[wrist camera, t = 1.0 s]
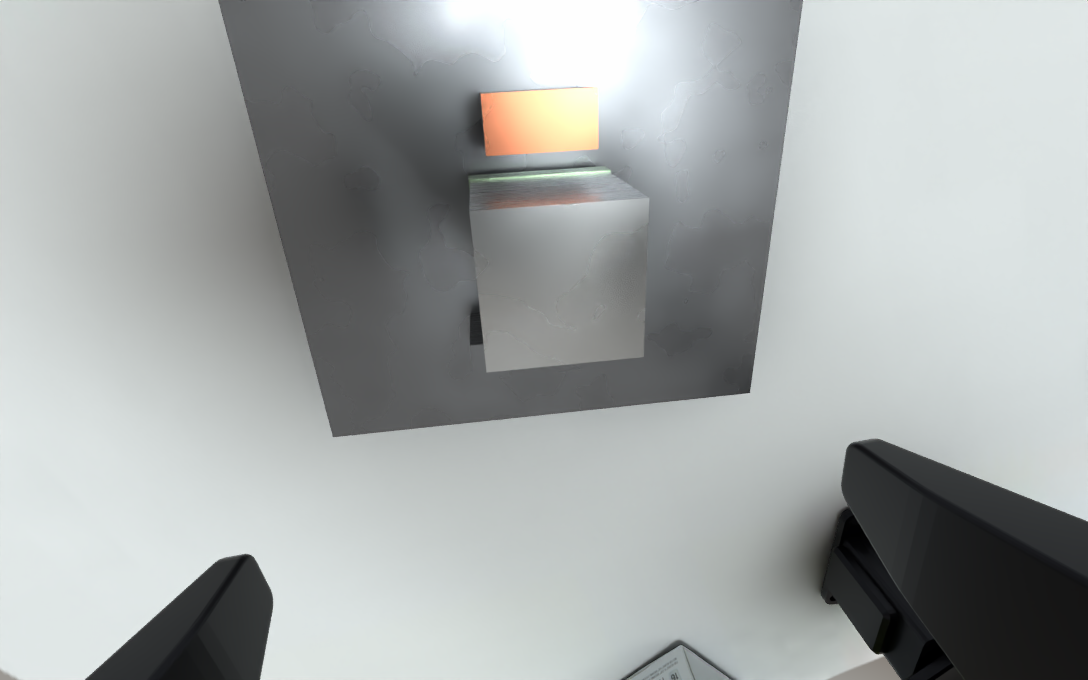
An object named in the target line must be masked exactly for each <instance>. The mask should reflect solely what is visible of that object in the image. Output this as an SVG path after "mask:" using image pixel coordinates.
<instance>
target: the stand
mask: <svg viewBox="0 0 1088 680" xmlns="http://www.w3.org/2000/svg"><path fill="white" fill-rule="evenodd" d="M802 3H803V0H219V4H220V8H221V12H222V16H223V20H224V23H225V27H226V31H227V35H228V39H229V42H230V46H231V50H232V54H233V58H234V61H235V65H236V69H237V73H238V77H239V80H240V84H241V88H242V92H243V96H244V99H245V103H246V107H247V111H248V115H249V119H250V122H251V126H252V130H253V134H254V138H255V141H256V145H257V149H258V153H259V157H260V160H261V164H262V168H263V172H264V176H265V179H266V183H267V187H268V191H269V195H270V198H271V202H272V206H273V210H274V214H275V218H276V221H277V225H278V229H279V233H280V237H281V240H282V244H283V248H284V252H285V256H286V259H287V263H288V267H289V271H290V275H291V278H292V282H293V286H294V290H295V294H296V297H297V301H298V305H299V309H300V313H301V317H302V320H303V324H304V328H305V332H306V336H307V339H308V343H309V347H310V351H311V355H312V358H313V362H314V366H315V370H316V374H317V377H318V381H319V385H320V389H321V393H322V396H323V400H324V404H325V408H326V412H327V416H328V419H329V423H330V427H331V431H332V435H333V437H339V436H348V435H358V434H367V433H377V432H386V431H395V430H405V429H414V428H424V427H433V426H442V425H452V424H461V423H471V422H480V421H490V420H499V419H508V418H518V417H527V416H537V415H546V414H556V413H565V412H574V411H584V410H593V409H603V408H612V407H621V406H631V405H640V404H650V403H659V402H669V401H678V400H687V399H697V398H706V397H716V396H725V395H734V394H744V393H750V387H751V380H752V372H753V365H754V358H755V350H756V343H757V335H758V328H759V321H760V313H761V306H762V299H763V291H764V284H765V276H766V269H767V262H768V254H769V247H770V239H771V232H772V225H773V217H774V210H775V203H776V195H777V188H778V180H779V173H780V166H781V158H782V151H783V143H784V136H785V129H786V121H787V114H788V107H789V99H790V92H791V84H792V77H793V70H794V62H795V55H796V48H797V40H798V33H799V25H800V18H801V11H802ZM599 166H605V167H607V168H608V169H610V170H611V173H612V174H613V175H615V176H616V177H618V178H619V179H621V180H622V181H624V182H625V183H627V184H629V185H630V186H632V187H633V188H635V189H636V190H638V191H639V192H641V193H642V194H644V195H645V196H647V197H649V221H648V249H647V277H646V305H645V334H644V357H639V358H629V359H619V360H609V361H599V362H589V363H578V364H568V365H558V366H548V367H538V368H528V369H518V370H507V371H497V372H486V362H485V353H484V344H483V334H482V325H481V316H480V306H479V297H478V288H477V278H476V269H475V260H474V250H473V241H472V232H471V222H470V213H469V205H470V191H469V182H468V176H469V175H480V174H495V173H510V172H525V171H540V170H555V169H569V168H584V167H599Z"/></svg>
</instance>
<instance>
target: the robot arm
mask: <svg viewBox="0 0 1088 680" xmlns="http://www.w3.org/2000/svg"><path fill="white" fill-rule="evenodd" d="M841 487H842V493H843V496H844V498H845V500H846V502H847V504H848V506H849V507H850V509H848V510H846V511H844V512H843V513H842V514H841V516H840V519H839V523H838V527H837V531H836V535H835V539H834V543H833V547H832V551H831V555H830V559H829V563H828V567H827V571H826V575H825V579H824V583H823V587H822V591H821V596H822V597H823V599H824V600H825V602H826V603H827V604H839V605H840V607H841V608H842V609H843V611H844V612H845V614H846V615H847V617H848V618H849V619H850V621H851V622H852V624H853V625H854V626H855V628H856V629H857V631H858V632H859V634H860V635H861V636H862V638H863V639H864V641H865V642H866V644H867V645H868V646H869V648H870V649H871V650H872V651H873V652H874V653H875V654H883V655H884V656H885V657H886V659H887V660H888V662H889V663H890V664H891V666H892V667H893V669H894V670H895V671H896V673H897V674H898V675H899V677H900V678H901V680H1088V521H1085V520H1083V519H1080V518H1078V517H1075V516H1073V515H1070V514H1067V513H1065V512H1062V511H1060V510H1057V509H1055V508H1052V507H1050V506H1047V505H1045V504H1042V503H1040V502H1037V501H1035V500H1032V499H1030V498H1027V497H1024V496H1022V495H1019V494H1017V493H1014V492H1012V491H1009V490H1007V489H1004V488H1002V487H999V486H997V485H994V484H992V483H989V482H986V481H984V480H981V479H979V478H976V477H974V476H971V475H969V474H966V473H964V472H961V471H959V470H956V469H954V468H951V467H949V466H946V465H943V464H941V463H938V462H936V461H933V460H931V459H928V458H926V457H923V456H921V455H918V454H916V453H913V452H911V451H908V450H905V449H903V448H900V447H898V446H895V445H893V444H890V443H888V442H885V441H883V440H880V439H869V440H863V441H858V442H853V443H851V444H850V445H849V446H848V447H847V450H846V455H845V462H844V468H843V475H842V482H841ZM272 611H273V596H272V592H271V589H270V587H269V585H268V583H267V581H266V579H265V577H264V575H263V574H262V572H261V570H260V568H259V566H258V564H257V562H256V560H255V558H254V557H252V556H251V555H249V554H242V555H237V556H232V557H226V558H223V559H220V560H218V561H217V562H215V563H214V564H213V565H212V566H211V567H210V568H208V569H207V570H206V571H205V572H204V573H203V574H202V575H201V576H200V577H198V578H197V579H196V580H195V581H194V582H193V583H192V584H191V585H190V586H188V587H187V588H186V589H185V590H184V591H183V592H182V593H181V594H180V595H178V596H177V597H176V598H175V599H174V600H173V601H172V602H171V603H170V604H168V605H167V606H166V607H165V608H164V609H163V610H162V611H161V612H160V613H158V614H157V615H156V616H155V617H154V618H153V619H152V620H151V621H150V622H148V623H147V624H146V625H145V626H144V627H143V628H142V629H141V630H140V631H138V632H137V633H136V634H135V635H134V636H133V637H132V638H131V639H130V640H128V641H127V642H126V643H125V644H124V645H123V646H122V647H121V648H120V649H118V650H117V651H116V652H115V653H114V654H113V655H112V656H111V657H110V658H108V659H107V660H106V661H105V662H104V663H103V664H102V665H101V666H100V667H98V668H97V669H96V670H95V671H94V672H93V673H92V674H91V675H90V676H88V677H87V678H86V679H85V680H260V676H261V671H262V665H263V660H264V655H265V649H266V644H267V638H268V633H269V627H270V622H271V616H272Z"/></svg>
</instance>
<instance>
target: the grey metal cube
mask: <svg viewBox="0 0 1088 680" xmlns="http://www.w3.org/2000/svg"><path fill="white" fill-rule="evenodd" d="M468 182H469V191H470V205H469V213H470V222H471V232H472V241H473V250H474V260H475V269H476V278H477V288H478V297H479V306H480V316H481V325H482V334H483V344H484V353H485V362H486V372H497V371H507V370H518V369H528V368H538V367H548V366H558V365H568V364H578V363H589V362H599V361H609V360H619V359H629V358H639V357H644V334H645V305H646V277H647V249H648V221H649V197H647V196H645V195H644V194H642V193H641V192H639V191H638V190H636V189H635V188H633V187H632V186H630V185H629V184H627V183H625V182H624V181H622V180H621V179H619V178H618V177H616V176H615V175H613V174H612V173H611V170H610V169H608V168H607V167H605V166H599V167H584V168H569V169H555V170H540V171H525V172H510V173H495V174H480V175H469V176H468Z"/></svg>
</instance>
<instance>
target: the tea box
mask: <svg viewBox="0 0 1088 680" xmlns="http://www.w3.org/2000/svg"><path fill="white" fill-rule="evenodd" d="M626 680H731V679H729V678H728V677H727V676H725V675H724V674H722V673H721V672H719V671H718V670H717V669H715V668H714V667H712V666H711V665H710V664H708V663H707V662H705V661H704V660H703V659H701V658H700V657H698V656H697V655H696V654H694V653H693V652H691V651H690V650H689V649H687V648H686V647H684V646H683V645H680V646H678V647H677V648H675V649H673V650H672V651H670V652H668V653H666V654H665V655H663V656H662V657H660V658H658V659H657V660H655V661H653V662H652V663H650V664H649V665H647V666H645V667H644V668H642V669H641V670H639V671H638V672H636V673H635V674H633V675H632V676H630V677H629V678H627V679H626Z"/></svg>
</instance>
